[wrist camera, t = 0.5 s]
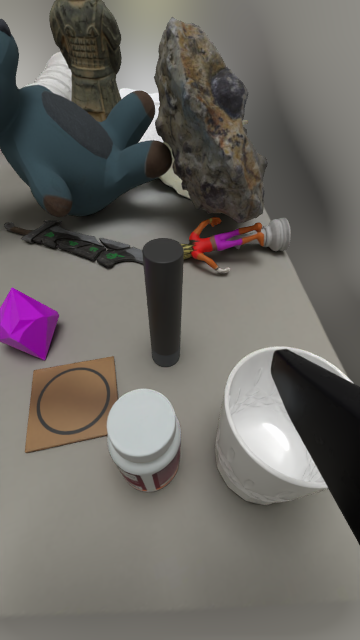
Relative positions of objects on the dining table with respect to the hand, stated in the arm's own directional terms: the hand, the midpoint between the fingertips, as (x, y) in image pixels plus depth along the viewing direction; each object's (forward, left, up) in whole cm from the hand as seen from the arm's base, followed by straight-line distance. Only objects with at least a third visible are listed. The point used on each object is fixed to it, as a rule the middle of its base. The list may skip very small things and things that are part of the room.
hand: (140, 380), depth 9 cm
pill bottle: (+2, 0, -17) cm, 17 cm away
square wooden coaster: (+8, +6, -17) cm, 20 cm away
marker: (+11, -3, -17) cm, 20 cm away
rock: (+34, -8, -8) cm, 35 cm away
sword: (+35, +3, -16) cm, 39 cm away
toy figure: (+26, -13, -15) cm, 33 cm away
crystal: (+16, +10, -17) cm, 26 cm away
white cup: (0, -8, -17) cm, 19 cm away
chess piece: (+26, -23, -14) cm, 37 cm away
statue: (+63, 0, -17) cm, 65 cm away
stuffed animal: (+44, -3, -12) cm, 46 cm away
